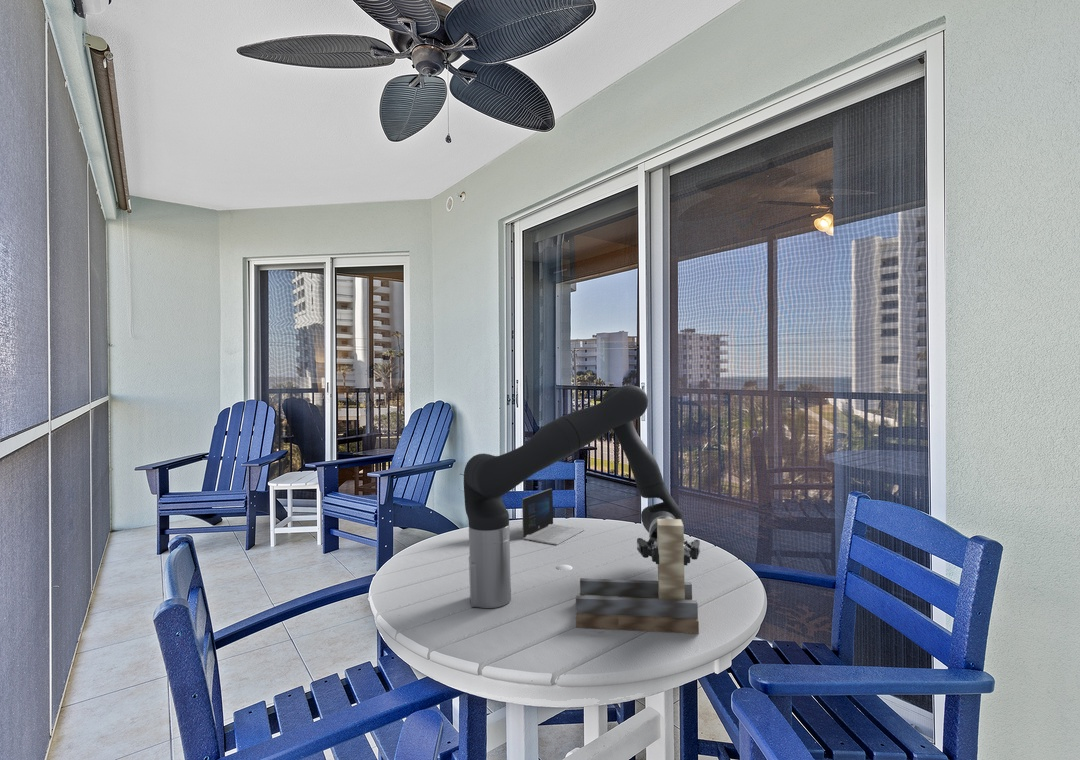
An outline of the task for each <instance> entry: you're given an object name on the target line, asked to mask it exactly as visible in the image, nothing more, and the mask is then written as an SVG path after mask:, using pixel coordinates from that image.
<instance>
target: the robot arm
mask: <svg viewBox="0 0 1080 760" xmlns="http://www.w3.org/2000/svg"><path fill="white" fill-rule="evenodd" d="M648 404H649V397H648V395H647V393H646V391H645V390H644V389H642V388H641V387H640V386H637V385H632V384H629V385H628V384H627V385H622V386H619V387H614V388H611V389H609V390H607V391H606V392H605V393H604V395H603V397H602V401H601V402H599V403H597V404H594V405H591V406H588V407H584V408H582V409H578V410H575V411H572V412H569V413H567V414H565V415H562V416H559V417H558V418H555V419H554V420H552V421H550V422H548V423H546V424H545V425H543V426H542V427H541V428H539V429H538V430H537V431H536V432H535V433H534V434H533V435H532V436H531V438H529V440H527V441H526V442H525V443H524V444H522V445H521V446H519V447H517V448H515V449H512V450H510V451H508V452H505V453H502V454H499V455H494V454H493V455H492V454H490V453H478V454H475V455H473V456H472V457H471V458H470V459H469V460H468V461H467V462H466V464H465V467H464V471H463V495H464V497H463V498H464V508H465V509H464V510H465V514H466V516H467V521H468V544H469V545H468V546H469V547H468V549H469V550H468V551H469V556H468V572H469V573H468V575H469V577H468V578H469V579H468V580H469V598H470V606H471V608H482V609H494V608H499V607H503V606H505V605H508V603H510V602H511V600H512V585H511V584H512V583H511V580H512V579H511V578H512V576H511V545H510V544H511V542H510V541H511V540H510V515H509V512H508V510H507V508H506V506H505V504H504V501H503V498H502V496H505V495H506V494H507V493H509V492H511V491H512V490H513V489H514V488H515V487H517V486H518V485H520V484H521V483H523V482H524V481H526V480H527V479H529V478H530V477H532V476H533V475H535V474H536V473H539V472H540V471H542V470H544V469H547V468H548V467H550V466H551V465H554V464H555V463H557V462H558V461H561V460H563V459H565V458H567V457H569V456H571V455H572V454H574V453H576V452H578V451H579V450H581V449H582V448H584V447H586V446H587V445H589V444H590V443H593V442H595V441H596V440H597V439H599V438H600V437H602V436H603V435H605V434H606V433H609V431H613V433H614V435H615V437H616V439H617V441H618V443H619V444H620V446H621V449H622V451H623V453H624V455H625V457H626V459H627V462H628V464H629V467H630V469H631V472H632V476H633V478H634V481H635V484H636V487H637V490H638V493H639V496H640V497H642V498H644V499H659V500H661V501H662V502H659V503H656V504H652V505H648V506H646V507H645V508H643V509H642V511H641V513H640V519H641V523H642V525H643V528H644V529H645V530H646V531H647V532H648V535H649V536H648V537H649V539H648V540H646V539H643V538H641V537H637V538H636V550H637V551H638V553H639V554H640V556H641V557H642V558H644V559H645V558H646V559H648V558H649V557H651V562H653V563H655V565H658V564H659V552H658V546H657V519H681V520H682V521H683V519H684V518H683V516H684V515H683V512H682V510H681V508H680V507H679V505H678V504H677V503H676V501H675V499H674V498H673V496H672V495H671V493H670V492H669V490H668V489H667V486H666V484H665V482H664V478H663V474H662V472H661V469H660V467H659V464H658V462H657V460H656V458H655V457H654V455H653V454H652V452H651V451H650V450H649V448H648V447H647V445H646V444H645V443H644V441H643V440H642V439H641V437H640V436H639V434H638V431H637V429H636V427H635V424H634V421H635V420H638V419H640V418H641V417H642V416H644V414H645V412H646V411H647V409H648V406H649V405H648ZM700 542H701V541H700V539H694V540H693V541H692V540H691V542H689V541H688V540H687V539H685V538H684V566H688V564H690V563H691V560H698V558H699V555H700V553H701V543H700Z"/></svg>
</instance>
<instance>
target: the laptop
mask: <svg viewBox="0 0 1080 760" xmlns="http://www.w3.org/2000/svg"><path fill="white" fill-rule="evenodd" d="M553 502H554V501H553V488H552V487H551V488H548V489H545V490H543V491H540V492H538V493H534V494H532V495H529V496H527V497H524V498H522V499H521V508H522V509H521V510H522V517H521V519H522V538H523V539H526V540H525V541H527V540H531V541H530V542H533V541H535V542H538V543H540V542H541V543H542V544H548V545H555V546H558V545H560V544H561V543H563V542H565V541H566V540H569V539H571V538H572V537H574V536H576V535H578V534H579V533H580V534H581V532H584V531H585V528H582V527H574V526H568V525H562V524H556V523H554V505H553Z"/></svg>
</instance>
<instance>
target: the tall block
mask: <svg viewBox="0 0 1080 760" xmlns="http://www.w3.org/2000/svg"><path fill="white" fill-rule="evenodd" d="M684 528H685V526H684V524H683V520H681V519H657V546H658V552H659V564H657V581H658V595H659V599H676V600H685V583H684V582H685V565H684V539H685V538H684V537H685V536H684V535H685V533H684V532H685V531H684V530H685V529H684Z"/></svg>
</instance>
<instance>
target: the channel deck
mask: <svg viewBox="0 0 1080 760" xmlns="http://www.w3.org/2000/svg"><path fill="white" fill-rule="evenodd" d="M684 583H685V600H676V599H659V595H658V580H642V579H616V578H615V579H614V578H612V579H611V578H610V579H609V578H588V577H587V578H586V577H581V578H579V588H580V589H579V593H580V594H579V595H575V596H576V597H575V612H576V613H575V628H579V629H580V628H581V629H599V630H617V631H619V630H620V631H635V632H636V631H639V632H656V633H657V632H659V633H677V634H678V633H679V634H694V635H695V634H697V635H699V634H700V632H699V629H700V628H699V625H700V624H699V609H698V605H699V604H698V601H697V600H696V599H693V585H692V582H691V581H684Z"/></svg>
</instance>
